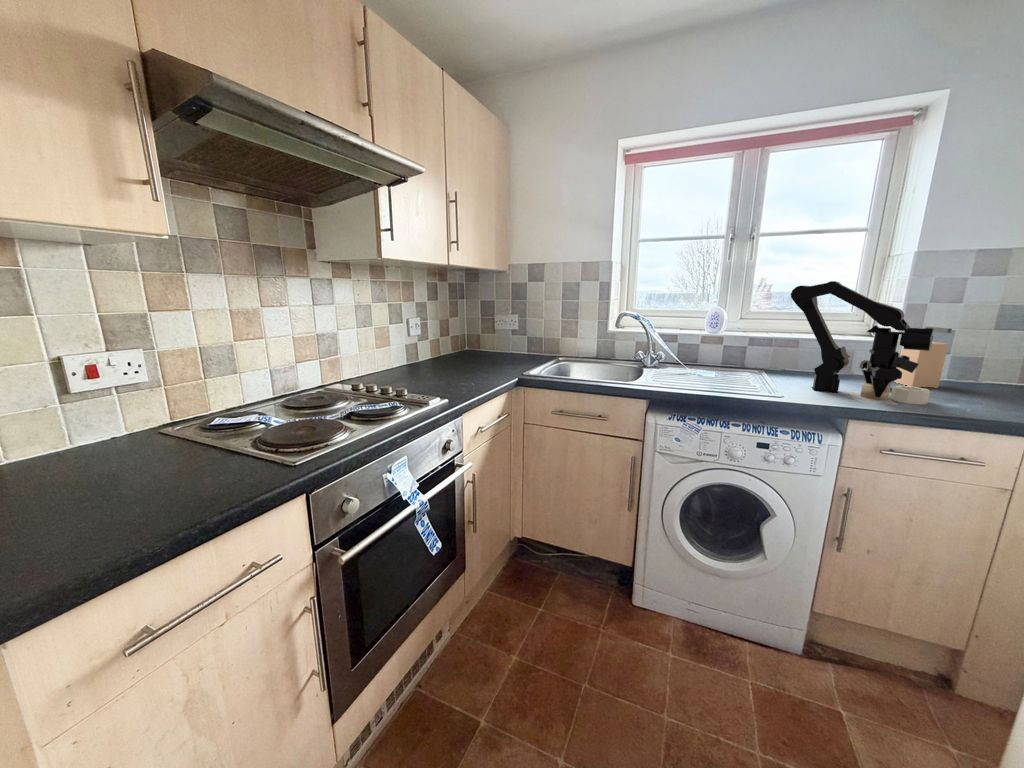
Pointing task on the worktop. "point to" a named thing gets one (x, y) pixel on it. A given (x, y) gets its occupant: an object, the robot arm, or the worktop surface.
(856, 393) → the mat
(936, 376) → the soap dispenser
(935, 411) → the worktop surface
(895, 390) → the bowl
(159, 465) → the worktop surface
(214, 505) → the worktop surface
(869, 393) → the lid
